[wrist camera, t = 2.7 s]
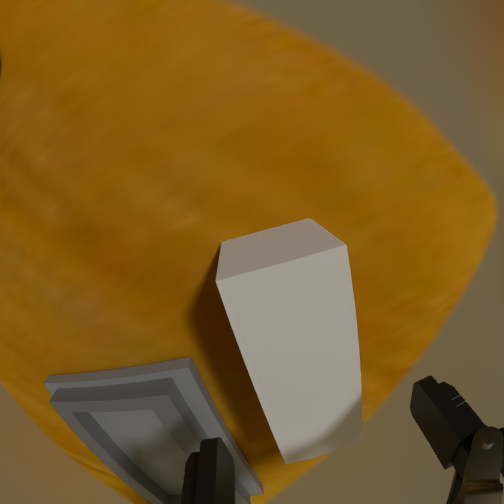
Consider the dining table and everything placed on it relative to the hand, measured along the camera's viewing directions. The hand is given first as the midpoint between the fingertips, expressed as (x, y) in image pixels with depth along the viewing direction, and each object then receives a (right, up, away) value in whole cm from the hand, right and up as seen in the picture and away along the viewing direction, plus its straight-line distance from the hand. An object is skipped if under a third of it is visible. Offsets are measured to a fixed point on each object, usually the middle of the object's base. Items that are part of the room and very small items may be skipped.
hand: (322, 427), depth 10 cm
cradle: (-10, -9, +9) cm, 16 cm away
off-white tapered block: (-1, +2, +6) cm, 7 cm away
